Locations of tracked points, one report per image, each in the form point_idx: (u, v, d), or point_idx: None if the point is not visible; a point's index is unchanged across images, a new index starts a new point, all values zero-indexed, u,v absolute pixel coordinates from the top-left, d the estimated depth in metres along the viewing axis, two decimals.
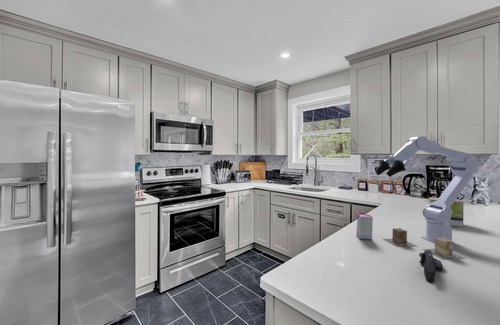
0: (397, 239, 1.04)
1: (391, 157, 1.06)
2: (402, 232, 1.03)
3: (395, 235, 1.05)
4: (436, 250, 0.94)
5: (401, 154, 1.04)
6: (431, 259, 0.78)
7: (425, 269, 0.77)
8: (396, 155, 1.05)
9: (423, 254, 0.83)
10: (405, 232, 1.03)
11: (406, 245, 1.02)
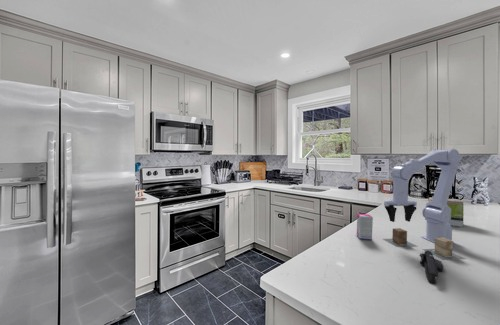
0: (397, 239, 1.04)
1: (405, 204, 1.02)
2: (402, 232, 1.03)
3: (395, 235, 1.05)
4: (436, 250, 0.94)
5: (407, 196, 1.03)
6: (432, 260, 0.78)
7: (426, 270, 0.77)
8: (406, 200, 1.02)
9: (424, 255, 0.83)
10: (405, 232, 1.03)
11: (406, 245, 1.02)
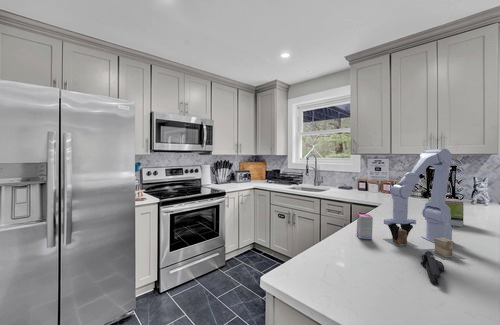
0: (397, 239, 1.04)
1: None
2: (402, 232, 1.03)
3: None
4: (436, 250, 0.94)
5: (407, 215, 1.03)
6: (434, 261, 0.77)
7: (428, 271, 0.76)
8: (406, 218, 1.03)
9: (424, 255, 0.82)
10: (405, 232, 1.03)
11: (406, 245, 1.02)
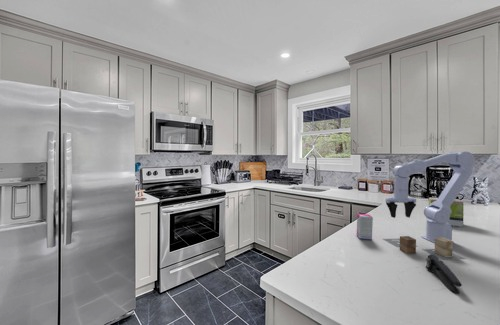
0: (405, 248, 0.94)
1: None
2: (411, 241, 0.93)
3: (402, 244, 0.95)
4: (436, 250, 0.94)
5: (407, 193, 1.09)
6: (445, 265, 0.74)
7: (442, 277, 0.72)
8: (406, 197, 1.09)
9: (431, 260, 0.79)
10: (414, 241, 0.93)
11: None
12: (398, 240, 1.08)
